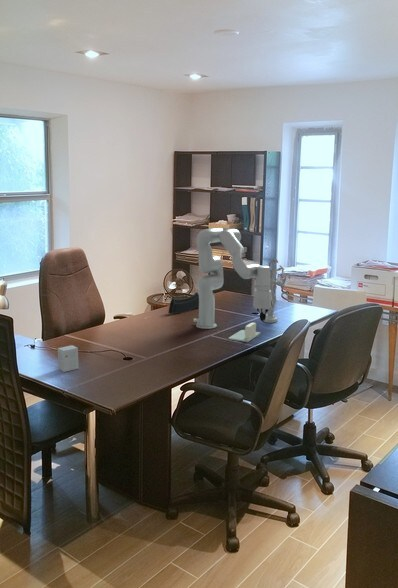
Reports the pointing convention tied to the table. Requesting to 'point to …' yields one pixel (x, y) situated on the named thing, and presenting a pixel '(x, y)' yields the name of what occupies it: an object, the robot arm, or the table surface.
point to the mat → (242, 336)
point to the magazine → (184, 304)
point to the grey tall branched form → (273, 282)
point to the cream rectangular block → (250, 330)
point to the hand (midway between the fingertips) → (262, 320)
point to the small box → (68, 358)
